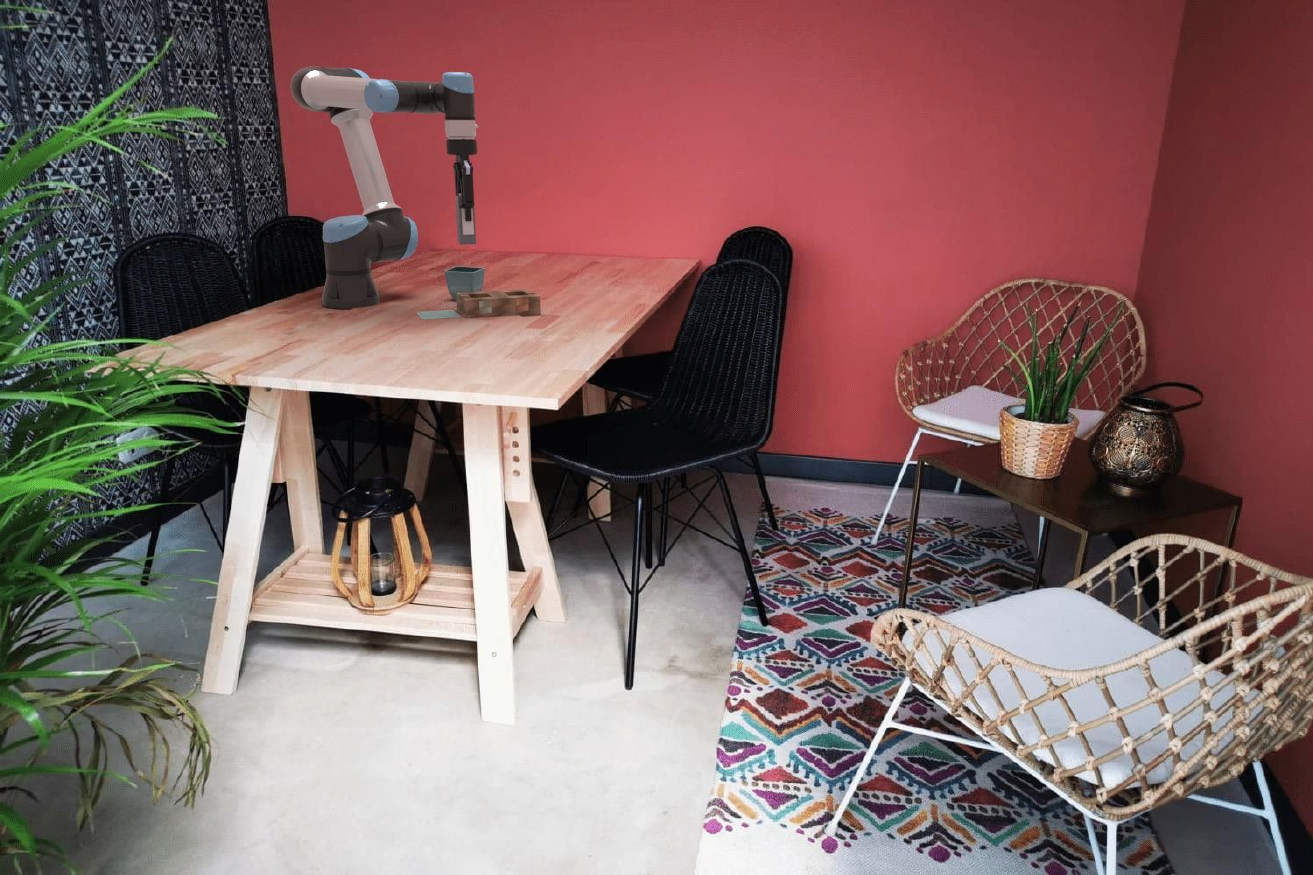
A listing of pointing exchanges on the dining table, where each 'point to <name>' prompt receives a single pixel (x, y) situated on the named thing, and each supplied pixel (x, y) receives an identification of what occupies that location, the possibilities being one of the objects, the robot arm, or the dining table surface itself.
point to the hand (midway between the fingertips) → (466, 233)
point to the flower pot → (464, 280)
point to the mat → (438, 314)
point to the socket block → (498, 303)
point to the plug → (462, 238)
